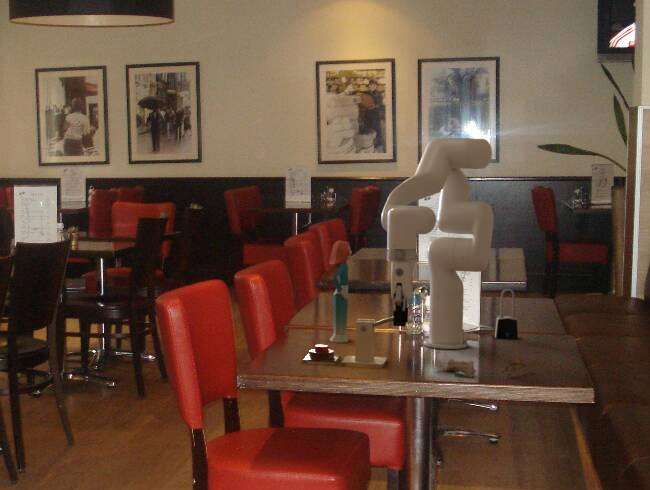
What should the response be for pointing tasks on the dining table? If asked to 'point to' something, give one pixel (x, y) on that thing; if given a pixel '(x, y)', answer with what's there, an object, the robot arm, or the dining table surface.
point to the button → (321, 348)
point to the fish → (517, 368)
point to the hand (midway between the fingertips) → (400, 323)
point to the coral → (456, 367)
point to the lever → (382, 321)
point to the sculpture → (340, 290)
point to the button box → (321, 356)
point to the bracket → (364, 345)
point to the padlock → (507, 322)
